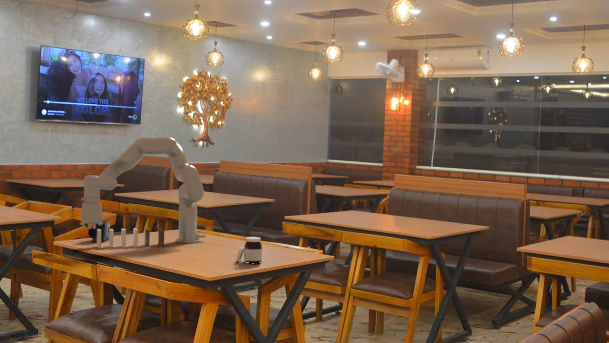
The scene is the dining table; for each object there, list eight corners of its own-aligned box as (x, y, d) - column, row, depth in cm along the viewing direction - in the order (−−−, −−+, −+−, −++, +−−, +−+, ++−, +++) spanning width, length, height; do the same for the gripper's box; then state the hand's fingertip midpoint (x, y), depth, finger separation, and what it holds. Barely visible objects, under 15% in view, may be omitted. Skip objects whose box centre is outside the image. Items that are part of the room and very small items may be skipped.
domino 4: (136, 245, 368) (136, 228, 368) (137, 246, 364) (137, 229, 363) (133, 245, 368) (133, 228, 367) (134, 247, 363) (134, 229, 363)
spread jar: (263, 264, 327) (264, 239, 327) (238, 265, 324) (239, 239, 323) (257, 259, 339) (258, 235, 338) (233, 260, 336) (234, 235, 335)
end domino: (147, 244, 371) (148, 228, 370) (149, 246, 366) (149, 229, 365) (144, 245, 370) (145, 228, 370) (146, 246, 365) (146, 229, 365)
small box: (104, 242, 374) (104, 222, 373) (91, 242, 374) (92, 222, 373) (110, 239, 384) (110, 220, 384) (98, 239, 384) (98, 219, 384)
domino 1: (99, 246, 362) (100, 229, 361) (100, 248, 357) (101, 230, 357) (96, 246, 361) (96, 229, 361) (97, 248, 357) (97, 230, 356)
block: (161, 244, 375) (161, 228, 374) (164, 246, 367) (164, 231, 367) (158, 244, 374) (158, 228, 373) (160, 246, 366) (161, 231, 366)
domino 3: (124, 245, 366) (124, 228, 366) (125, 247, 361) (125, 230, 361) (121, 245, 366) (121, 228, 365) (122, 247, 361) (122, 230, 360)
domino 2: (112, 246, 364) (112, 228, 364) (113, 247, 359) (113, 230, 359) (108, 246, 364) (109, 228, 363) (110, 247, 359) (110, 230, 358)
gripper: (76, 201, 350) (76, 238, 351) (108, 200, 356) (107, 237, 357) (75, 199, 357) (75, 236, 358) (106, 199, 363) (106, 235, 364)
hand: (91, 236), depth 358 cm, fingers closed
